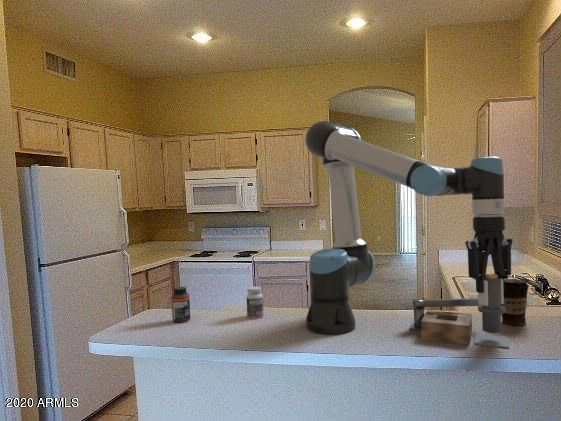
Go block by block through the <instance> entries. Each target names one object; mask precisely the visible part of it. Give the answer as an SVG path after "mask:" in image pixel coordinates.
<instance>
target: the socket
mask: <svg viewBox="0 0 561 421" xmlns="http://www.w3.org/2000/svg"><path fill="white" fill-rule="evenodd" d="M472 321H473V320H472V313H463V312H452V311H443V310H429V309H427V310H426V312H424V317H423V319H422V320H421V331H420V332H421V335H420V336H421V340H427V341H435V342H443V343H450V344H458V345H466V346H467V345H468V346H470V345H471V339H472V332H473V326H472V325H473V323H472Z"/></svg>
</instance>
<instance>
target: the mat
mask: <svg viewBox="0 0 561 421" xmlns="http://www.w3.org/2000/svg"><path fill="white" fill-rule="evenodd" d="M473 344H474V345H477V346H486V347H493V348H494V347H495V348H503V349H510V342H509V337H508V336H501V335H500V336H499V335H491V334H483V333H475V335H474V342H473Z"/></svg>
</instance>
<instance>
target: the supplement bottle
mask: <svg viewBox="0 0 561 421" xmlns="http://www.w3.org/2000/svg"><path fill="white" fill-rule="evenodd" d="M173 292H174V293H173V294H172V295H171V313H172V314H171V315H172V316H171V317H172V322H173V323H175V322H184V323H186V322H185V321H187V322H189V321H190V320H191V300H190V293H188V291H187V287H186V286H176V287H174V288H173ZM188 320H189V321H188Z"/></svg>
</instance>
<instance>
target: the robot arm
mask: <svg viewBox="0 0 561 421" xmlns="http://www.w3.org/2000/svg"><path fill="white" fill-rule="evenodd" d="M304 140H305V146H306V148H307V150H308V151H309V152H310V153H311V154H312V155H313V156H315V157H319V158H322V166H323V168H325V169H326V170H327V172H328V179H329V187H330V188H329V189H330V197H331V198H330V199H331V207H332V215H333V216H332V217H333V225H334V235H335V242H334V244H332V245H331V248H326V249H320V250H317V251H315V252H313V253H311V255H310V257H309V266H308V269H309V284H310V286H309V287H310V304H309V307H308V311H307V314H306V318H305V328H306V329H307V330H309V331H311V332H313V333H317V334H323V335H339V334H346V333H349V332H351V331H354V330H355V329H356V319H355V316H354V313H353V309H352V306H351V304H350V302H349V301H350V299H349V297H350V296H349V294H350V292H349V288H351V287H353V286H357V285H361V284H364V283H365V282H366V281H368V280H369V279H370V278H372V276H373V274H374V273H375V270H376V261H375V257H374V256H373V254H372V253H371V252H370V251H369V249H368V242H366V241H365V240H364V239H363V237H362V230H361V222H360V212H359V210H360V209H359V201H358V194H357V184H356V176H355V168H358V169H361V170H364V171H366V172H369V173H371V174H374V175H377V176H379V177H382V178H385V179H387V180H389V181H392V182H395V183H397V184H399V185H403V186H404V187H407V188H410V189H412V190H414V192H416V193H417V194H418V195H423V196H426V197H433V196H436V197H439V196H440V197H443V196H456V195H458V196H459V195H471V200H472V202H471V203H472V206H471V207H472V215H474V216H473V218H472V230H473V231H474V233H475V234H474V236H473V238H472V239H471V240H466V241H465V246H466V250H467V268H468V278H470V279H473V280H475V291H476V293H477V298H478V304H481V305H484V306H488V281H486V280H485V275H486V273H487V267H488V261H489V256H490V258H491V262H492V266H493V268H492V269H493V272H494V273H493V274H497V277H498V278H500V298H501V304H504V293H503V290H504V289H505V279H509V276H511V275H512V244H513V241H514V240H513V239H512V238H508V237H505V235H504V233H503V231H505V230H506V219H505V217H504V216H503V215H504V214H505V191H504V190H505V188H504V187H505V186H504V185H505V183H504V182H505V180H504V177H505V176H504V175H505V173H504V165H503V160H502V159H501V157H499V156H481V157H476V158H472V159H471V161H470V162H471V163H470V165H469V166H465V167H464V166H462V167H450V168H449V167H443V166H436V165H433V164H430V163H428V162H425V161H421V160H418V159H415V158H413V157H410V156H407V155H405V154H401V153H399V152H395V151H392V150H390V149H386V148H383V147H381V146H378V145H376V144H372V143H369V142H367V141H363V140H362V138H361V135H360V134H359V132H358V131H357V130H356V129H355V128H353V127H350V126H349V125H346V124H341V123H336V122H331V121H328V120H321V121H317V122H315V123H313V124H312V125H311V126H310V127H309V128H308V130H307V131H306V132H305V139H304Z"/></svg>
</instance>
